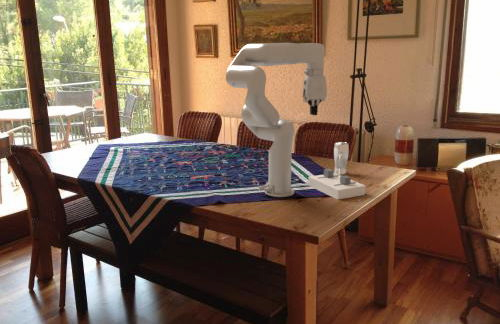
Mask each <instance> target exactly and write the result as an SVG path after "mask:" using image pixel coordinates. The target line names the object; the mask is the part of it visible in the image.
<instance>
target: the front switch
mask: <svg viewBox="0 0 500 324" xmlns="http://www.w3.org/2000/svg"><path fill="white" fill-rule="evenodd" d="M351 178H352V177H350V176H349V175H347V174H345V175H340V183H342V184H344V185H345V184H350V181H351V180H352V179H351Z"/></svg>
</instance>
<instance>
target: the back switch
mask: <svg viewBox="0 0 500 324" xmlns="http://www.w3.org/2000/svg"><path fill="white" fill-rule="evenodd" d="M334 170H335V169H334ZM334 170H333V169H332V168H331V169H330V168H326V169H323V175H324V176H326V177H333V175H334Z"/></svg>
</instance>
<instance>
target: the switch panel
mask: <svg viewBox="0 0 500 324" xmlns="http://www.w3.org/2000/svg"><path fill="white" fill-rule="evenodd" d="M340 176H341V175H338V174H335V173H334V175H333V177H326V176H324V174H319V175H311V176H308V177H307V178H308V181H307V185H308V186H309V187H311V188H313V189H315V190H317V191H319V192H321V193H323V194H325V195H327V196H330V197H332V198H334V199H335V200H342V199H347V198H348V199H350V198H353V197H354V198H355V197H360V196H366V188H367V187H366V184H365V185H364V184H363V183H360V182H358V181H355V180H353V179H351V181H350V184H345V185H344V184H342V183H340Z"/></svg>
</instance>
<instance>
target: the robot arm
mask: <svg viewBox="0 0 500 324" xmlns="http://www.w3.org/2000/svg"><path fill="white" fill-rule="evenodd" d="M325 51H326V50H325V46H324V44H322V43H312V42H310V43H309V42H307V43H302V42H301V43H295V42H271V43H270V42H269V43H267V42H265V43H248V44H246V45H244V46H243V47H242V48H241V49H240V50H239V52H238V53H237V54H236V56H235V57H234V58H233V61H232V60H231V63H230V65H229V66H228V68H227V69H226V72H225V82H226V83H227V85H229V86H230V87H232V88H234V89H235V88H236V89H247V91H246V97H245V99H244V105H243V107H242V109H241V114H240V116H241V120H242V122H243V124H245V126H246V127H247V128H248V130H250V131H251V132H252V133H253V135H255V136H256V137H257V138H258V139H261V140H265V141H271V142H272V144H271V146H270V147H269V149H268V150H269V151H268V181H266V183H265V184H264V185H258V186H257V190H258V191H264V194H265V195H267V196H270V197H274V198H275V197H276V198H286V197H291V196H293V195H294V194H295V189H294V188H292V187H291V186H292V185H291V184H292V153H293V152H292V148H293V141H294V136H295V126H294V124H293V122H291V121H290V120H287V119H285V118H284V119H283V118H280V117H281V116H280V114H279V111H278V110H277V108H276V107H275V106H274V104H273V103H272V102H271V101H270V100H269V99H268V97H267V96H266V92H265V91H266V85H267V75H266V72H265V70H264V69H263V68H262V67H272V66H273V67H274V66H283V65H284V66H285V65H298V64H306V65H305V66H306V67H305V68H306V69H305V70H304V71H303V74H305V76H304V78H303V85H302V86H303V87H302V98H303V99H302V102H304V103H307V104H308V106H309V113H310V115H311V116H317V115H318V112H319V111H318V109H319V106H320V104H321V102H325V101H326V98H327V97H328V93H327V91H328V90H327V89H328V88H327V87H328V86H327V79H326V76H325V75H324V69H325V54H326V53H325Z"/></svg>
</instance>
